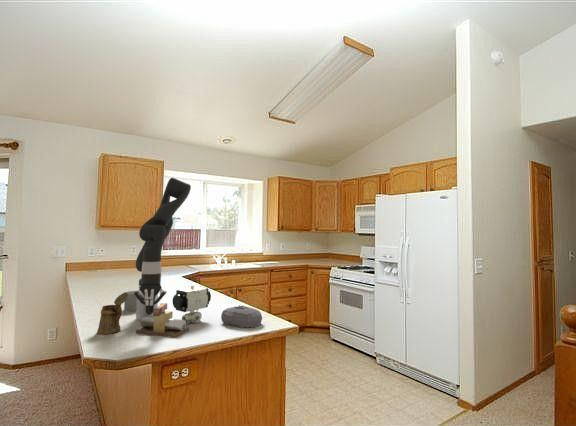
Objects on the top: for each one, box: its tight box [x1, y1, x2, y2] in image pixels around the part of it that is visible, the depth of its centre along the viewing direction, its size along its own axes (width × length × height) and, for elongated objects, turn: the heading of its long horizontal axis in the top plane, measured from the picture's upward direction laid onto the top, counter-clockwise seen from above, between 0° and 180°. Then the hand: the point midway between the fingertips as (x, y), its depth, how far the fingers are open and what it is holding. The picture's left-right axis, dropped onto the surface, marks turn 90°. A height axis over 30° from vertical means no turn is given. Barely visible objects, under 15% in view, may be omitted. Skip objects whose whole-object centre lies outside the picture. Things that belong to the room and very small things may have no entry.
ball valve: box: [172, 285, 212, 324], centre depth 163 cm, size 18×8×18 cm, turn 142°
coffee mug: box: [123, 290, 138, 313], centre depth 190 cm, size 13×10×10 cm
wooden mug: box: [96, 291, 128, 336], centre depth 146 cm, size 9×14×18 cm, turn 69°
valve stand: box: [135, 310, 190, 338], centre depth 146 cm, size 20×10×10 cm, turn 75°
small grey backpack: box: [220, 304, 263, 328], centre depth 161 cm, size 15×8×20 cm
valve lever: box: [153, 302, 168, 316], centre depth 142 cm, size 14×3×3 cm, turn 7°
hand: (149, 314), depth 137 cm, fingers closed
